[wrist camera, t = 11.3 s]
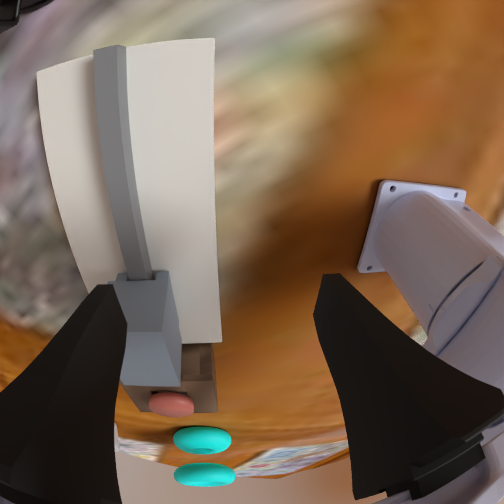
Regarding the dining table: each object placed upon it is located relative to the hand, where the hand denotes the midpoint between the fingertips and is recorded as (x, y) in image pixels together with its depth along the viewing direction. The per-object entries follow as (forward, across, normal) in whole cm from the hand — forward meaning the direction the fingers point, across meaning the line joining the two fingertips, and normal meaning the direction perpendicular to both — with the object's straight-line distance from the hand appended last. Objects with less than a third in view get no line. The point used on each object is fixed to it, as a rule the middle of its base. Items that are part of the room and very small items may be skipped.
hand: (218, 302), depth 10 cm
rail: (+9, +5, +2) cm, 11 cm away
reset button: (+8, +5, +17) cm, 19 cm away
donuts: (+10, +5, +43) cm, 44 cm away
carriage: (+8, +5, +7) cm, 12 cm away
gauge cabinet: (+9, +5, +17) cm, 20 cm away
